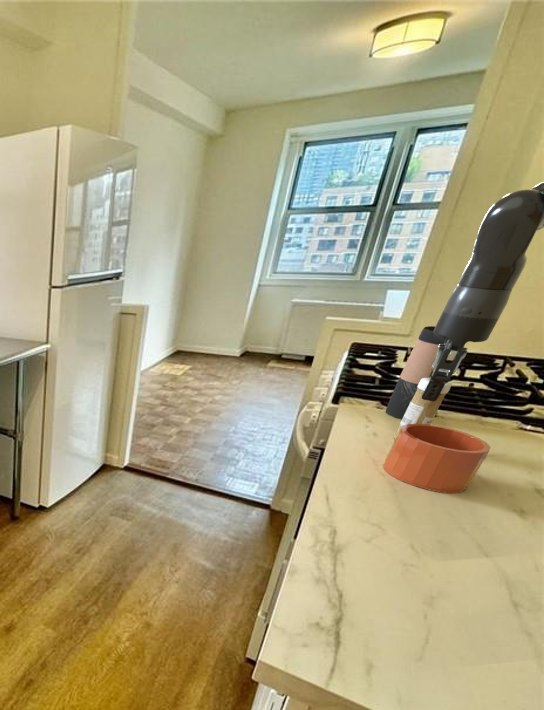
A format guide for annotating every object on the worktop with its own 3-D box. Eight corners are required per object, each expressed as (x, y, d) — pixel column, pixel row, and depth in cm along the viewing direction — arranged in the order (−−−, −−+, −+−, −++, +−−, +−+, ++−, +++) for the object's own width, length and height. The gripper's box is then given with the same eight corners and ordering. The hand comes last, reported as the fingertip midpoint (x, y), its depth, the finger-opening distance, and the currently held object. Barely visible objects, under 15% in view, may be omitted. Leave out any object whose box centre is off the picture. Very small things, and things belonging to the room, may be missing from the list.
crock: (421, 458, 95) (440, 422, 91) (485, 490, 85) (510, 451, 81) (367, 462, 94) (384, 425, 90) (425, 494, 84) (447, 454, 80)
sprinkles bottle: (424, 447, 99) (457, 386, 93) (396, 443, 100) (427, 382, 94) (415, 438, 103) (446, 378, 96) (388, 434, 104) (417, 375, 98)
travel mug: (435, 422, 110) (481, 334, 100) (402, 422, 110) (445, 335, 100) (406, 408, 116) (447, 325, 107) (375, 408, 116) (413, 326, 107)
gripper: (501, 322, 82) (453, 409, 90) (499, 309, 91) (455, 389, 99) (442, 315, 87) (401, 399, 94) (445, 303, 96) (408, 380, 103)
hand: (429, 394), depth 97 cm, fingers open, 8 cm apart
